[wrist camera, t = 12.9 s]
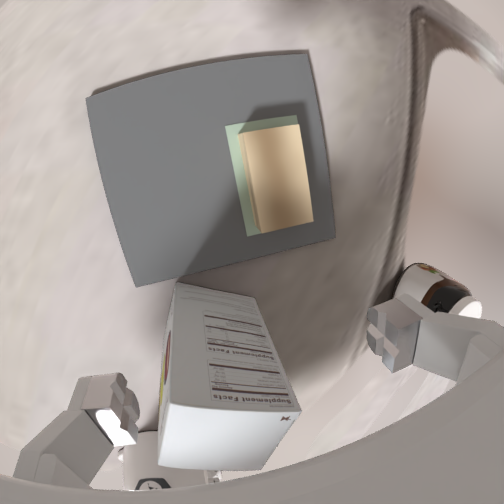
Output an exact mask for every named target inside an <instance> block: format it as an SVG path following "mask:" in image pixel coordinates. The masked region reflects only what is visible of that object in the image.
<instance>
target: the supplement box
mask: <svg viewBox="0 0 504 504" xmlns="http://www.w3.org/2000/svg"><path fill="white" fill-rule="evenodd" d="M301 412H302V410H301V408H300V405H299V403H298V401H297V398H296V396H295V394H294V391H293V389H292V387H291V384H290V382H289V380H288V377H287V375H286V372H285V370H284V368H283V365H282V363H281V361H280V358H279V356H278V354H277V351H276V349H275V346H274V344H273V342H272V339H271V337H270V335H269V332H268V330H267V327H266V325H265V322H264V320H263V317H262V315H261V313H260V310H259V308H258V305H257V303H256V300H255V298H253V297H248V296H243V295H238V294H233V293H228V292H222V291H217V290H212V289H208V288H203V287H198V286H193V285H189V284H184V283H180V282H176V285H175V289H174V293H173V297H172V302H171V306H170V311H169V315H168V320H167V325H166V330H165V336H164V341H163V352H162V364H161V378H160V394H159V415H158V453H157V455H158V465H160V466H165V467H171V468H180V469H196V470H217V471H252V470H261V469H262V468H263V466H264V465H265V463H266V462H267V460H268V459H269V457H270V456H271V454H272V453H273V451H274V450H275V448H276V447H277V446H278V444H279V443H280V441H281V440H282V438H283V437H284V436H285V434H286V433H287V431H288V430H289V429H290V427H291V426H292V424H293V423H294V422H295V420H296V419H297V418H298V416H299V415H300V413H301Z"/></svg>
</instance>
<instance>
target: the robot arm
mask: <svg viewBox="0 0 504 504" xmlns="http://www.w3.org/2000/svg"><path fill="white" fill-rule="evenodd" d="M367 319H368V320H369V321H370V322H371V323H370V325H369V327H368V328H367V341H368V344H369V346H370V348H371V350H372V351H373V352H374V353H375V354H376V355H379V356H382V362H383V364H384V365H385V366H386V367H387V368H388V369H389V370H390V371H391V372H392V373H394V372H397V371H399V370H401V369H403V368H405V367H407V366H409V365H411V364H413V365H414V366H417V367H419V368H422V369H424V370H427V371H429V372H432V373H435V374H437V375H440V376H443V377H445V378H448V379H451V380H453V381H456V385H455V387H453V388H452V389H450V390H449V391H447V392H446V393H444V394H443V395H441V396H440V397H438V398H437V399H435V400H433V401H432V402H430V403H428V404H427V405H425V406H423V407H422V408H420V409H418V410H417V411H415V412H413V413H411V414H410V415H408V416H406V417H404V418H402V419H401V420H399V421H397V422H395V423H393V424H391V425H389V426H387V427H385V428H383V429H381V430H379V431H377V432H375V433H373V434H371V435H368V436H366V437H364V438H362V439H360V440H357V441H355V442H353V443H350V444H348V445H346V446H343V447H341V448H338V449H336V450H333V451H331V452H328V453H325V454H322V455H320V456H317V457H314V458H311V459H308V460H305V461H302V462H299V463H296V464H293V465H290V466H286V467H283V468H279V469H276V470H272V471H268V472H265V473H260V474H256V475H252V476H248V477H243V478H238V479H233V480H228V481H223V482H220V481H219V480H221V479H222V473H221V471H217V470H196V469H180V468H171V467H165V466H160V465H158V455H157V453H158V431H149V432H142V433H138V427H137V426H136V424H135V422H136V421H137V420H138V419H139V415H140V410H139V404H138V401H137V398H136V396H135V394H134V392H133V391H131V390H130V389H128V388H126V386H127V380H126V379H125V377H124V376H123V374H121V373H112V374H104V375H94V376H87V377H81V378H79V379H78V382H77V384H76V387H75V390H74V393H73V395H72V398H71V401H70V404H69V407H68V410H67V411H63V412H62V413H61V414H60V415H59V416H58V417H56V418H55V419H54V420H53V421H52V422H51V423H50V424H49V425H48V426H47V427H46V428H44V429H43V430H42V431H41V432H40V433H39V434H38V435H37V436H36V437H35V438H34V439H33V440H31V441H30V442H29V443H28V444H27V445H26V446H25V447H24V448H23V449H22V450H21V453H20V456H19V459H18V462H17V465H16V468H15V471H14V475H13V477H10V476H6V475H2V474H0V504H504V327H503V326H501V325H500V324H498V323H497V322H495V321H491V320H485V319H479V318H473V317H467V316H461V315H455V314H449V313H444V312H436V313H434V312H433V311H431V310H430V309H429V308H427V307H426V306H424V305H423V304H422V303H420V302H419V301H417V300H416V299H415V298H413V297H412V296H410V295H409V294H405V293H404V294H402V295H400V296H397V297H395V298H393V299H391V300H389V301H386V302H384V303H381V304H378V305H376V306H373V307H371V308H369V309H368V312H367ZM121 445H124V448H123V449H122V450H121V451H119V452H118V459H119V460H120V461H122V462H123V487H124V490H97V489H93V488H92V487H90V486H89V484H90V483H91V481H92V480H93V478H94V477H95V475H96V473H97V472H98V471H99V469H100V468H101V466H102V465H103V463H104V462H105V460H106V459H107V457H108V456H109V454H110V453H111V451H112V450H113V449H114V446H121Z"/></svg>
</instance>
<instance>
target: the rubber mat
mask: <svg viewBox="0 0 504 504" xmlns="http://www.w3.org/2000/svg"><path fill="white" fill-rule="evenodd" d="M86 105H87V111H88V117H89V122H90V128H91V133H92V138H93V143H94V148H95V152H96V157H97V161H98V165H99V170H100V174H101V178H102V182H103V186H104V190H105V193H106V197H107V201H108V204H109V208H110V211H111V215H112V218H113V222H114V225H115V228H116V231H117V235H118V238H119V241H120V244H121V247H122V250H123V253H124V256H125V259H126V262H127V265H128V267H129V270H130V273H131V276H132V278H133V281H134V284H135V286H136V287H140V286H144V285H148V284H152V283H157V282H161V281H165V280H169V279H173V278H177V277H181V276H185V275H189V274H193V273H197V272H201V271H205V270H209V269H214V268H218V267H222V266H226V265H230V264H234V263H238V262H242V261H246V260H250V259H254V258H258V257H262V256H266V255H270V254H274V253H278V252H282V251H286V250H290V249H294V248H297V247H301V246H305V245H309V244H313V243H317V242H321V241H325V240H329V239H333V238H336V236H335V225H334V215H333V205H332V196H331V188H330V180H329V172H328V165H327V158H326V151H325V144H324V138H323V132H322V126H321V120H320V114H319V109H318V103H317V98H316V93H315V88H314V83H313V78H312V73H311V69H310V64H309V60H308V55H307V54H289V55H274V56H262V57H252V58H243V59H236V60H228V61H222V62H216V63H210V64H204V65H199V66H194V67H189V68H184V69H180V70H175V71H171V72H167V73H163V74H159V75H155V76H151V77H148V78H144V79H141V80H137V81H134V82H131V83H127V84H124V85H121V86H118V87H115V88H112V89H109V90H106V91H104V92H101V93H98V94H95V95H93V96H90V97H88V98H86ZM297 124H299V127H300V133H301V139H302V144H303V151H304V157H305V163H306V170H307V176H308V183H309V190H310V198H311V205H312V213H313V222H309V223H305V224H300V225H296V226H292V227H287V228H283V229H279V230H275V231H271V232H266V233H261V232H260V231H259V229H258V228H257V227H256V226H255V222H254V217H253V212H252V207H251V201H250V196H249V191H248V186H247V181H246V176H245V170H244V165H243V160H242V155H241V150H240V145H239V140H238V134H241V133H245V132H251V131H256V130H263V129H269V128H275V127H282V126H289V125H297Z"/></svg>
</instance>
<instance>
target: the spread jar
mask: <svg viewBox="0 0 504 504" xmlns="http://www.w3.org/2000/svg"><path fill="white" fill-rule="evenodd" d="M404 293H405V294H409V295H410V296H412V297H413V298H415V299H416V300H417V301H419V302H420V303H422V304H423V305H424V306H426V307H427V308H429V309H430V310H431V311H433V312H434V313H436V312H444V313H449V314H455V315H461V316H467V317H473V318H479V319H480V318H481V314H482V305H481V303H480V302H479V301H478V300H476V299H475V298H473V297H472V294H471V292H470V291H469V290H468V288H466V287H465V286H464V285H462V284H461V283H459V282H458V281H456V280H455V279H453V278H451V277H450V276H448V275H446V274H445V273H443V272H442V271H440V270H438V269H436V268H434V267H432V266H429V265H427V264H424V263H414V264H412V265H410V266H408V267H407V268H406V269H405V270H404V271H403V273H402V274H401V275H400V277H399V279H398V281H397V283H396V285H395V288H394V292H393V296H392V299H393V298H395V297H397V296H400V295H402V294H404Z"/></svg>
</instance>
